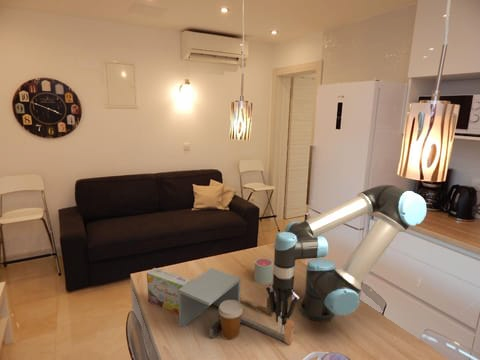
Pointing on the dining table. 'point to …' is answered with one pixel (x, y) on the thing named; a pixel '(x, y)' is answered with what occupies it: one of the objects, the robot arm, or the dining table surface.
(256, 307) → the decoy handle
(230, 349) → the dining table surface
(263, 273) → the mug
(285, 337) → the wood-tipped metal rod
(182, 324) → the shelf cubby
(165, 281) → the snack box
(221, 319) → the disposable coffee cup
